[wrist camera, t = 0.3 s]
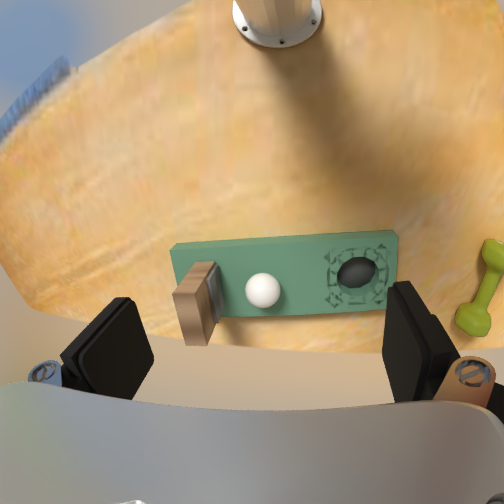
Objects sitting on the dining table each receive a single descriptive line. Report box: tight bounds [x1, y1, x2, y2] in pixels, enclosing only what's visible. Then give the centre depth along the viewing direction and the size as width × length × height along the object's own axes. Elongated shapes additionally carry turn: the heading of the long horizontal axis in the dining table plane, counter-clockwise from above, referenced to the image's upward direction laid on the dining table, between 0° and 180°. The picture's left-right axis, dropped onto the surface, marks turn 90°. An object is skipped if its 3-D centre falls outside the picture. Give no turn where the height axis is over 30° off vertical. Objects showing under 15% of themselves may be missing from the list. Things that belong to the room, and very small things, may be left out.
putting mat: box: [170, 230, 398, 317], centre depth 48 cm, size 12×34×3 cm, turn 97°
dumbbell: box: [455, 239, 504, 337], centre depth 42 cm, size 16×8×7 cm, turn 171°
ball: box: [245, 273, 280, 308], centre depth 45 cm, size 5×5×5 cm
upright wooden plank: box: [172, 261, 225, 346], centre depth 44 cm, size 8×4×10 cm, turn 7°
